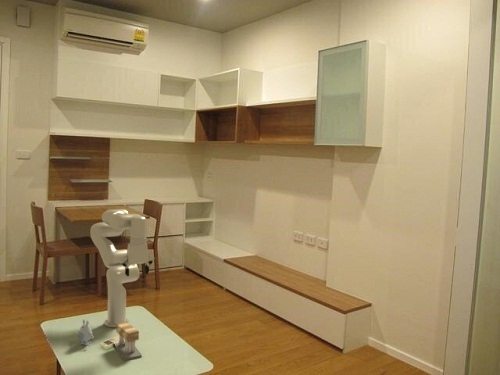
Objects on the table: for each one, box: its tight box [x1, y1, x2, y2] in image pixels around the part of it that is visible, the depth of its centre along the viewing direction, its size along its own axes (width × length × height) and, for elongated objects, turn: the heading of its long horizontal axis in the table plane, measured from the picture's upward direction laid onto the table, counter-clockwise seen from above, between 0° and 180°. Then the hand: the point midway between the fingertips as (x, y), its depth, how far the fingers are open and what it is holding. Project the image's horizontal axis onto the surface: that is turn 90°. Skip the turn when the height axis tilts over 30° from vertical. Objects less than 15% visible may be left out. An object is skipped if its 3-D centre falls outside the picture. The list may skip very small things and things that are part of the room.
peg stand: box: [114, 334, 143, 362], centre depth 207 cm, size 20×8×7 cm, turn 31°
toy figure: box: [76, 319, 94, 346], centre depth 211 cm, size 11×6×12 cm, turn 63°
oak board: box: [115, 322, 140, 342], centre depth 207 cm, size 14×5×4 cm, turn 40°
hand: (137, 274), depth 220 cm, fingers open, 9 cm apart
